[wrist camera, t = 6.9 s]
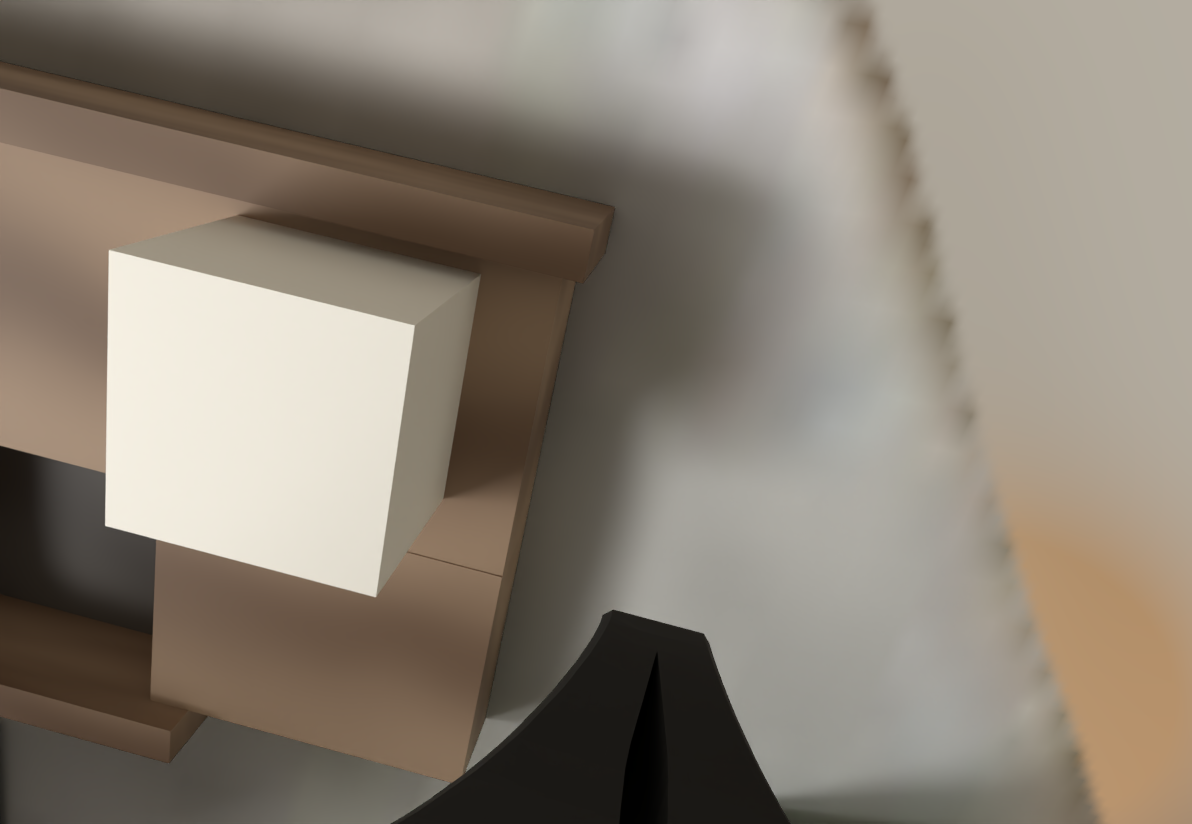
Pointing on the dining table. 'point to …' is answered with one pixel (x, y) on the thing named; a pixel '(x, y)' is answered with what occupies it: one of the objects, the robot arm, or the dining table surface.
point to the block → (282, 396)
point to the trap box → (217, 584)
